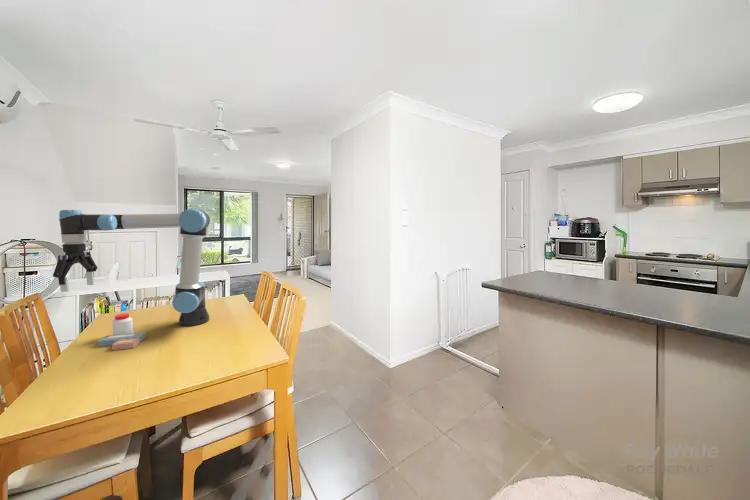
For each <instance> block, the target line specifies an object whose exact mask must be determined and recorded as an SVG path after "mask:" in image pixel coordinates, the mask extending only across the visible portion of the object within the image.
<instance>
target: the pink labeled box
mask: <svg viewBox="0 0 750 500" xmlns="http://www.w3.org/2000/svg"><path fill="white" fill-rule="evenodd" d="M140 343H141V342H140V341H139V338H131V339H120V340H118V341H116V342H115V343H114V344H112V345H111V348H112V349H111V350H112V351H117V350H119V351H120V350H127V349H128V350H129V349H135V348H136V347H137V346H138V345H139V344H140Z"/></svg>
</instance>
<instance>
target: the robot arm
mask: <svg viewBox="0 0 750 500" xmlns="http://www.w3.org/2000/svg"><path fill="white" fill-rule="evenodd" d="M58 214H59V218H58V221H59V226H60V235H61V242H62V244H61V245H62V246H61V247H62V252H63V253H64V254H63V255H62V254H59V255H58V256H57V262H56V265H55V268H54V272H53V274H52V277H53V278H57V279H58V285H59V288H60V293H63V292H65V293H68V292H70V289H69V279H68V276H67V274H68V273H69V271H70V270H71V268H72V267H73V265H75V264H80V265H81V266H82V267H83V268H84V269H85V270H86V271H85V277H86V278H85V279H86V285H87V286H94V285H95V272H97V270H98V266H97V264H96V263H95V261H94V258H92V254H91V252H90V251H87V247H86V243H85V242H86V238H85V237H86V236H85V231H115V230H131V229H132V230H133V229H134V230H135V229H168V228H169V229H170V228H176V229H177V228H179V230H180V231H179V234H180V236H182V248H181V249H182V251H181V260H180V261H181V262H180V271H179V283H178V284H176V285H175V290H174V297H173V299H172V301H171V304H172V307H173V309H174V310H175V311H177V312H178V313H180V315H179V318H178V325H180V326H183V327H193V326H197V325H198V326H199V325H203V324H205V323H208V322H209V321H210V313H209V312H208V309H207V307H206V292H205V291H206V286H205V283H204V282H202V281H200V271H201V259H202V250H203V249H202V246H203V239H204V238H205V237H207V229H208V227H209V226H210V222H211V219H210V216H209V214H208V213H207V212H206V211H204V210H202V209H197V208H188V209H186V210H183V211H180V212H179V213H143V214H142V213H137V214H108V213H107V214H105V213H103V214H95V213H94V214H86V213H85V214H84V213H83V211H82V210H80V209H61V210H60V211H59V212H58Z"/></svg>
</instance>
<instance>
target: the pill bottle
mask: <svg viewBox="0 0 750 500" xmlns="http://www.w3.org/2000/svg"><path fill="white" fill-rule="evenodd" d="M111 322H112V323H111V325H112V335H121V334H132V333H134V322H133V317H131V316H130V313H127V312H125V313H119V314H115V315H114V319H113V320H112V321H111Z"/></svg>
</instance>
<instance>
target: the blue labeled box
mask: <svg viewBox="0 0 750 500" xmlns="http://www.w3.org/2000/svg"><path fill="white" fill-rule="evenodd" d="M131 338H139V341H140V343H141V342H142V341H144V339H146V338H147V333H146V332H145V331H144V332H136V333H134V332H133V333H132V334H121V335H113V334H112V335H111V334H110V335H105V336H104V337H102V338H101V339H99V340H98V341H97V347H98V348H99V347H100V348H101V347H110V346H111V347H112V344H114V343H115V342H116V341H118V340H120V339H131Z"/></svg>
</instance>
